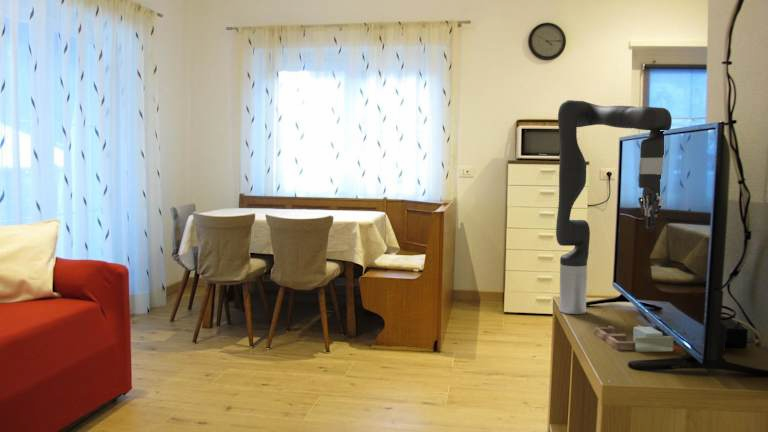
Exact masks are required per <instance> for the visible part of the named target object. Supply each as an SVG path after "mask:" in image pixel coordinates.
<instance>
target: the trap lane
mask: <svg viewBox="0 0 768 432" xmlns="http://www.w3.org/2000/svg"><path fill="white" fill-rule="evenodd" d="M636 327H643V326H642V325H637V324H636ZM616 330H617V328H616V327H614V326H612V325H608V326H607V327H594V335H595V336H597V337H598V338H600V339H601V340H602V341H603V342H605V343H606V344H608V345H609V346H610V347H611V348H613V349H615V350H616V351H625V350H626V351H627V350H628V351H629V350H630V351H631V350H632V351H634V352H638V353H639V352H646V353H647V352H674V337H673V336H672V335H663V336H644V337H635V342H633V341H628V335H626V334H625V333H617V331H616ZM671 336H672V337H673V338H672V337H671Z"/></svg>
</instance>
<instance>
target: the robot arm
mask: <svg viewBox="0 0 768 432" xmlns="http://www.w3.org/2000/svg"><path fill="white" fill-rule="evenodd" d="M557 123H558V124H557V125H558V135H559V166H558V169H559V170H558V206H557V216H556V217H557V218H556V226H555V237H556V242H557V244H559V246H561V247H564V246H565V247H569V246H573V249H572V250H570V251H568V252H567V253H565V254H562V255H561V256H560V259H559V261H560V262H559V301H558V303H559V305H558V308H559V309H558V311H559V312H561V313H564V314H568V315H569V314H570V315H584V314H586V312H587V285H588V284H587V281H588V279H587V278H588V277H587V276H588V260H589V254H590V253H589V251H590V250H589V249H590V241H591V238H590V237H591V230H590V229H591V228H590V225H589V223H588V222H587V221H586V219H585V220H584V219H570V218H571V213H572V209H573V206H574V205H575V202H576V201H577V200H578V198H579V196H580V195H581V193H582V192H583V190H584V188H585V186H586V183H587V162H586V159H585V157H584V154H583V152H582V150H581V148H580V145H579V143H578V137H577V136H578V135H577V131H578V130H577V129H578V128H583V127H589V126H597V125H599V126H600V125H601V126H602V125H604V126H608V127H611V128H621V129H634V130H642V131H649V135H648V137H647V138H644V139H643V140H641V142H640V154H639V155H640V158H639V164H638V165H639V166H638V188H639V189H643V190H642V193H641V194H642V196H641V197H638V203H639V206H640V210H641V212H642V213H641V214H643V215H644V216H645V228H646V229H649V230H651V229H653V230H655V228H656V218H657V216H660V215H659V212H660V208H661V204H662V198H661V197H662V196H661V197H660V192H661V189H660V179H661V174H662V166H663V155H664V134H663V132H664V131H660V130H669V129H670V130H671V127H672V115H671V113H670V111H669V110H668V109H667V108H665V107H659V106H658V107H656V106H633V105H632V106H630V105H611V106H610V105H609V106H604V105H598V104H594V103H590V102H587V101H585V100H575V99H574V100H573V99H572V100H571V99H568V100H565V101H563V102H562V103H561V104H560V106H559V108H558V114H557ZM660 213H661V212H660Z"/></svg>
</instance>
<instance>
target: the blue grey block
mask: <svg viewBox="0 0 768 432" xmlns="http://www.w3.org/2000/svg"><path fill="white" fill-rule="evenodd" d="M632 334H633V335H632V342H635V337H644V336H664V335H663V332H662V331H659V330H657V329H655V328H653V327H651V326H642V327H637V326H633V332H632Z"/></svg>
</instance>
